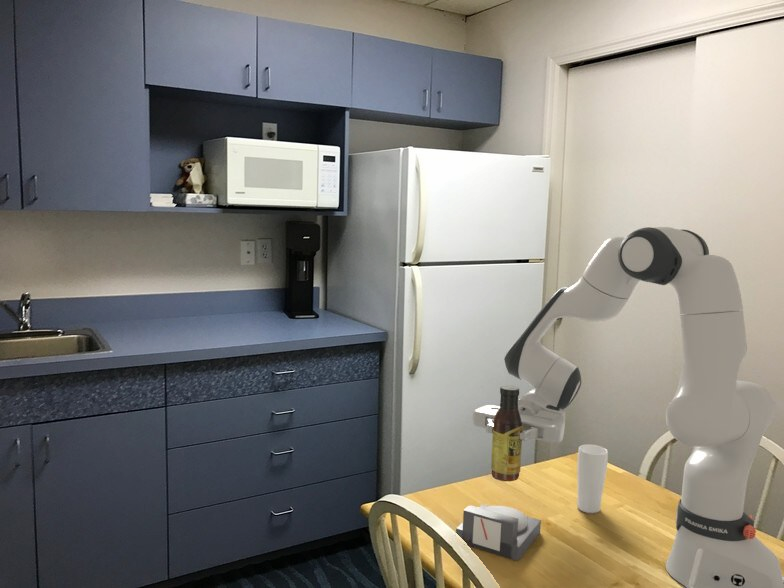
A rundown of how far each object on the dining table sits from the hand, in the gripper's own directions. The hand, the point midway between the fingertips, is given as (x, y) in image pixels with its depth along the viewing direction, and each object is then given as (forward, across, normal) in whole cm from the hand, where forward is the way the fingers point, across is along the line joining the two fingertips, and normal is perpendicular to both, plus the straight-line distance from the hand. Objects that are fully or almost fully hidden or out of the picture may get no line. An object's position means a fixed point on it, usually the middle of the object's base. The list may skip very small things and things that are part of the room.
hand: (505, 433), depth 143 cm
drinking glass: (-24, +13, +24) cm, 36 cm away
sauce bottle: (-1, 0, +10) cm, 10 cm away
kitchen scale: (+1, 0, +23) cm, 23 cm away
